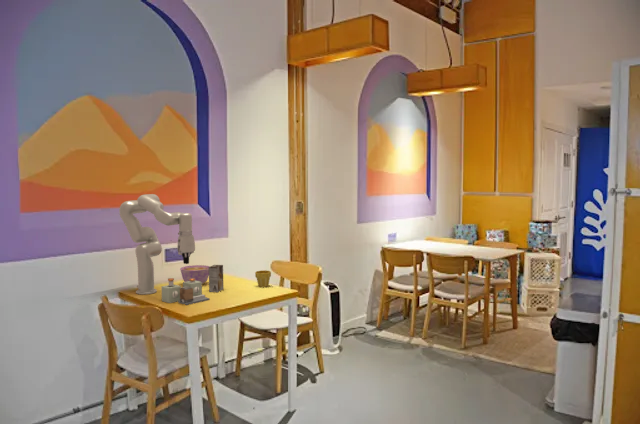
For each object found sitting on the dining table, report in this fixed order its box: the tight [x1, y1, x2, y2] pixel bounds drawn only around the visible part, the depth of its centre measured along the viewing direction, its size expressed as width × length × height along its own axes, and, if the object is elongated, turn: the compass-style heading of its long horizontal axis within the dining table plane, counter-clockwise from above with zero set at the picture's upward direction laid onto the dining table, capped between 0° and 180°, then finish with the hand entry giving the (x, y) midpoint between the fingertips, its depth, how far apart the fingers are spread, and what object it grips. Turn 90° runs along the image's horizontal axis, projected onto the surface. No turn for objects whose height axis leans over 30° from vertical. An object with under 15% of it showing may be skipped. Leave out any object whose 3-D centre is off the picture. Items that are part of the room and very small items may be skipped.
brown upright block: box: [180, 286, 193, 302], centre depth 305 cm, size 6×5×8 cm
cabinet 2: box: [182, 281, 203, 297], centre depth 321 cm, size 8×8×9 cm
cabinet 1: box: [160, 284, 182, 304], centre depth 310 cm, size 8×8×9 cm
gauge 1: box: [167, 277, 175, 287], centre depth 309 cm, size 3×3×7 cm
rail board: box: [177, 294, 211, 306], centre depth 309 cm, size 9×16×2 cm, turn 139°
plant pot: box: [254, 269, 272, 288], centre depth 348 cm, size 10×10×10 cm
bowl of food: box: [179, 264, 210, 285], centre depth 354 cm, size 20×20×12 cm
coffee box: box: [208, 264, 224, 293], centre depth 336 cm, size 9×6×16 cm
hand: (186, 263), depth 317 cm, fingers closed
